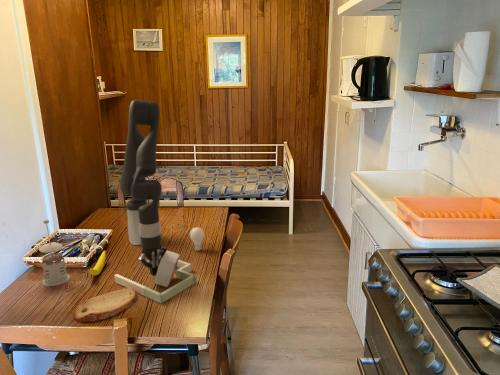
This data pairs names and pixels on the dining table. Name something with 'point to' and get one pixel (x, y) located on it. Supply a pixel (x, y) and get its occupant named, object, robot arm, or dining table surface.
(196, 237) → the lightbulb
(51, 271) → the french press
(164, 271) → the small box
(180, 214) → the dining table surface
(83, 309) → the bread slice
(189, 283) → the channel
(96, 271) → the banana
